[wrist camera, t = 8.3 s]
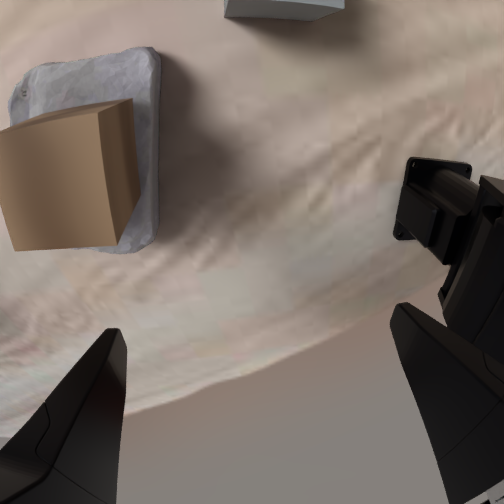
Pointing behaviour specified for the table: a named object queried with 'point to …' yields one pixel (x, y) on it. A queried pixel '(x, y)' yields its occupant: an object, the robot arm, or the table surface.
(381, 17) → the table surface
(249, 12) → the slate cube
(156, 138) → the stone block
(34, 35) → the table surface
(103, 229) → the walnut cube
